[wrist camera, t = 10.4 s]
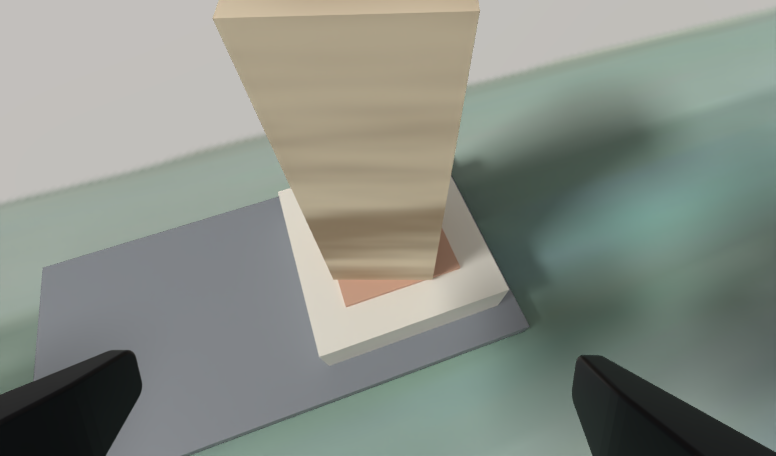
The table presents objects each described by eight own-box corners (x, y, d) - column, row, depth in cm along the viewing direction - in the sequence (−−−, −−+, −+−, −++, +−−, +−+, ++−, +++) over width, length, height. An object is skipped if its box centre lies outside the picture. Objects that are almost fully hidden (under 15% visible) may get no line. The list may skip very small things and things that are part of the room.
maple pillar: (432, 280, 18) (479, 11, 7) (333, 279, 18) (212, 18, 7) (429, 195, 20) (461, -119, 9) (340, 196, 20) (257, -110, 9)
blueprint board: (436, 158, 26) (441, 118, 23) (524, 331, 21) (547, 311, 17) (56, 274, 23) (-1, 247, 20) (41, 510, 18) (-42, 527, 14)
